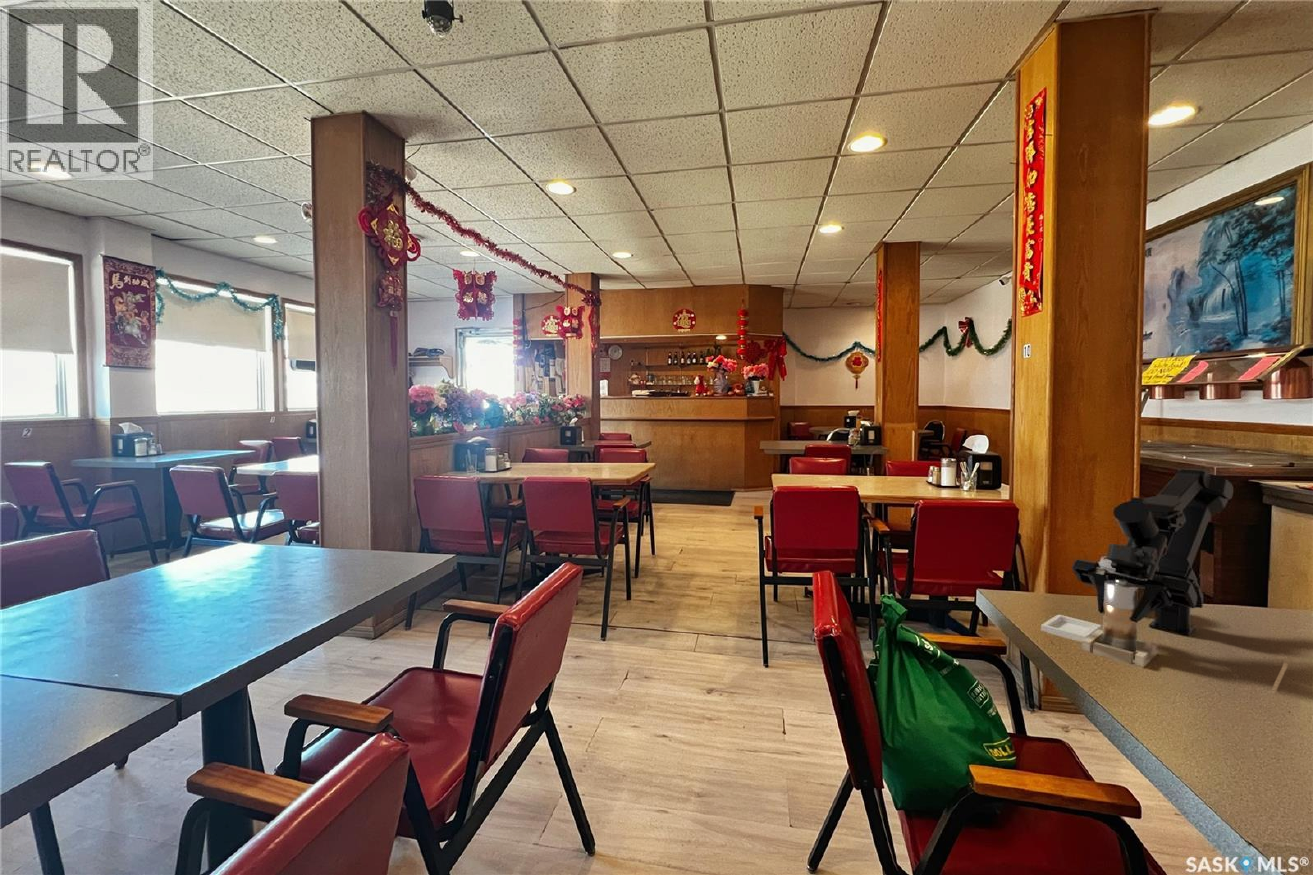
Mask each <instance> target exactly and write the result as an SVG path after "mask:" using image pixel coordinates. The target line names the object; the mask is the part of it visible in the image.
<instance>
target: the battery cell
mask: <svg viewBox="0 0 1313 875" xmlns="http://www.w3.org/2000/svg"><path fill="white" fill-rule="evenodd" d="M1137 607H1138V586H1137V585H1135V584H1132V583H1128V582H1127V581H1126V580H1122V579H1115V581H1113V580H1109V581H1105V582H1104V604H1103V613H1102V615H1103V616H1102V630H1103V644H1104V645H1108V646H1112V647H1115V648H1119V649H1123V650H1127V651H1130V652H1135V651H1136V648H1137V639H1138V622H1137V623H1136V622H1134V621H1133V617H1134V613H1135V611H1136V609H1137Z"/></svg>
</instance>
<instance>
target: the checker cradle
mask: <svg viewBox="0 0 1313 875" xmlns="http://www.w3.org/2000/svg"><path fill="white" fill-rule="evenodd" d="M1081 644H1082V646H1081V647H1082V648H1081V651H1082V652H1085V653H1089V654H1092V655H1096V656H1100V657H1103V658H1107V659H1110V660H1114V661H1117V662H1120V663H1124V664H1127V665H1131V666H1135V667H1138V668H1141V669H1144V668H1145V667H1146V666H1147V665H1148V664H1149V663H1150V662H1151V661H1152V660H1153V659H1154V658H1155V657H1156V656H1157V654H1158V644H1157V643H1154V642H1150V641H1149V642H1147V643H1146V640H1143V639H1139V638H1137V648H1136V651H1135V652H1130V651H1127V650H1123V649H1119V648H1115V647H1112V646H1108V645H1104V644H1103V629H1102V630H1099V629H1098V630H1096V631H1095V632H1094V633H1092V634H1091V635H1090V636H1088V637H1087V638H1085V639H1084V640H1083V641H1082V642H1081Z"/></svg>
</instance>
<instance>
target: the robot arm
mask: <svg viewBox="0 0 1313 875" xmlns="http://www.w3.org/2000/svg"><path fill="white" fill-rule="evenodd" d="M1233 494H1234V486H1233V484H1232V483H1231V482H1230V481H1229V480H1228V479H1227V478H1225V477H1221V476H1218V475H1214V474H1213V473H1211V472H1209V471H1208V470H1205V469H1197V468H1196V469H1195V468H1183V467H1182V468H1179V469H1176V471H1175V473H1174V477H1173V478H1172V479H1171V480H1170V481H1169V482H1168V483H1167V484H1166V485H1165V486H1164V488H1162V489H1161V491H1160V492H1159V493H1158V494H1157V495H1154V496H1149V497H1145V498H1144V497H1143V498H1142V497H1131V500H1129V501H1125V502H1122V503H1120V504H1119V505H1117V506H1115V507H1114V509H1113V516H1114V518H1115V520H1116V522H1117V524H1118V525H1119V528H1120V529H1121V531H1122V533H1123V535H1124V536H1126V537H1127V538H1128V539H1127V541H1126V543H1125V545H1123V544H1122V545H1121V544H1116V543H1109V547H1108V552H1107V559H1108V560H1111V561H1112V562H1111V567H1112V568H1115V569H1116V570H1115V572H1111V571H1107V570H1106V569H1104V568H1101V567H1100V565H1099V563H1098V562H1099V561H1093V560H1087V559H1083V558H1082V559H1081V558H1077V559H1075V560H1074V561H1073V564H1072V566H1071V569H1072V571H1073V573H1074V574H1075V576H1076V578H1077V579H1078V582H1080V583H1082V584H1086V585H1090V586H1093V587H1094V589H1095V590H1096V593H1097V595H1096V596H1097V608H1098V609H1097V610H1098V612H1099V614H1103V604H1104V582H1105V581H1109V580H1113V581H1115V579H1122V580H1126V581H1127V582H1128V583H1132V584H1135V585H1137V586H1138V587H1139V588H1143V592H1144V593H1143V597H1142V599H1141V601H1140V603H1139V605H1138V607H1137V609H1136V611H1135V613H1134V617H1133V621H1134V622H1136V623H1137V624H1138V623H1139V622H1140V621H1141V620H1142V619H1144V618H1146V617H1147V616H1149V615H1150V614H1152V613H1153V612H1154V620H1152V621H1151V622H1150V623H1149V624H1148V627H1149V628H1152V629H1157V630H1161V631H1165V632H1169V633H1173V634H1178V635H1182V636H1188V637H1189V636H1190V635H1191V634H1192V633H1193V632H1194V631H1195V630H1196V627H1195V626H1194V625H1191V609H1196V608H1198V609H1199V608H1200V609H1202V608H1204V605H1203V604H1204V593H1203V591H1202V589H1201V586H1200V585H1199V582H1198V578H1197V577H1196V574H1195V572H1194V569H1193V568H1192V567H1193V564H1194V561H1195V558H1196V556H1197V553H1198V551H1199V548H1200V545H1201V543H1202V540H1203V537H1204V535H1205V532H1206V530H1207V526H1208V524H1209V522H1210V518H1211V516H1212V515H1214V514H1216V513H1218V512H1220V511H1222V510H1224V509H1225V507H1226V506H1227V504H1228V502H1229V500H1231V499H1232V498H1233ZM1164 532H1167V533H1168V532H1169V533H1172V535H1171V538H1170V540H1169V543H1168V544H1167V541H1168V538H1167V535H1165V533H1164ZM1164 550H1165V553H1164V554H1163V552H1164Z"/></svg>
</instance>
